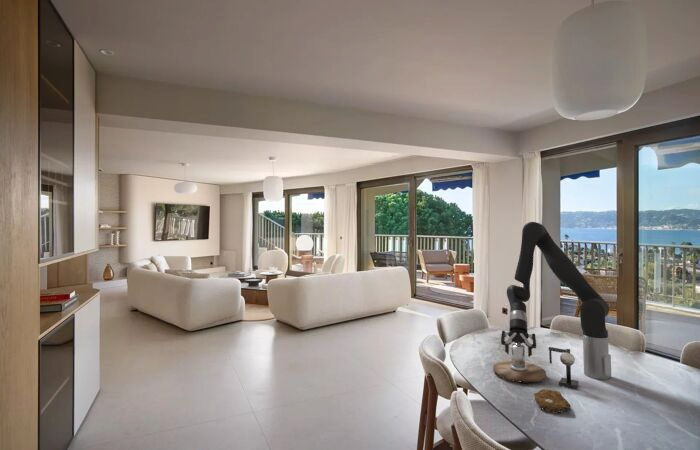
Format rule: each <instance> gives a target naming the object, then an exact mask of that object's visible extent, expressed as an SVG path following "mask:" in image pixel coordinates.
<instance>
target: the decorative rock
mask: <svg viewBox="0 0 700 450" xmlns="http://www.w3.org/2000/svg"><path fill="white" fill-rule="evenodd" d="M533 395H534V401H535V402H536V404H537V405H538V406H539V409H540V408H541V409H540V410H543V409H544V410H543V411H545V412H548V411H549V412H548V414H550V413H553V414H554V412H555V414H556V413H558V412H559V411H560V412H559V413H560V414H561V413H564V412H565V411H566V410H569V411H572V410H571V409H572V407H571V404H570V403H569V401H568V400H567V399H566V398H564V396H562V393H561V392H560V391H558V390H551V389H547V388H546V389H544V388H542V389H540V390H539V391H537V392H535V393H533ZM542 408H543V409H542ZM559 413H558V414H559Z"/></svg>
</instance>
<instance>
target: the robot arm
mask: <svg viewBox="0 0 700 450" xmlns="http://www.w3.org/2000/svg"><path fill="white" fill-rule="evenodd" d="M536 246H537V248H538V249H539V250H540V251H541V253H542V254H543V257H544V259H545V261H546V263H547V265H548V267H549V269H550V270H551V271H552V273H553V274H554V275H555V277H556V278H557V279H558V280H559V282H561V283H562V284H563V285H565V286H566V287H567V288H569V290H571V292H573V293H574V294H575V295H576V296H577V298H578V299H579V300H580V302H581V304H580V307H579V317H580V327H581V330H582V349H583V352H582V353H583V355H582V356H583V374H584V376H587V377H590V378H592V379H595V380H603V381H607V380H608V379H610V378H612V355H611V354H610V351H609V331H608V329H607V328H606V317H607V316H609V314H610V313H609V312H610V306H609V305H608V302H607V301H605V299H604V298H603V297H602V296H601V295H600V294H599V293H598V292H597V291H596V290H595V289H594V288H593V287H592V285H590V284H589V283H588V280H587V279H586V278H585V277H584V275H583V274H582V273H581V272H580V270H579V269H578V268H577V266H576V265H575V264H574V263H573V261H572V260H571V259H570V258H569V256H568V255H567V254H566V253H565V252H564V251H563V250H562V249H561V248H560V247H559V246H558V245H557V243H556V242H555V241H554V239H553V238H552V236H551V235H550V234H549V232H548V230H547V228H546V227H545V226H544V225H543V224H542V223H540V222H537V221H529V222H527V223H525V224H524V225H523V226H522V231H521V243H520V253H519V256H518V262H517V265H516V269H515V273H514V280H515V281H517V282H519V283H521V284H522V285H523V286H520V285H515V284H510V285H509V286H508V287H507V289H506V297H507V300H508V302H509V309H510V310H509V311H510V312H509V329H508V331H505V330H502V331H501V338H500V345H502V346H504V349H505V350H504V351H505V353H506V354H507V355H509V353H510V352H509V351H510V350H509V349H510V347H509V346H510V345H513V343H514V344H515V343H520V344H524V346H526V347H527V350H528V351H527V353H528V356H527V357H529V358H530V357H531V356H532V355H533V353H532V352H533V349H537V339H536V334H535V333H532V334H529V333H528V316H527V305H526V302H528V301H530V298H531V289H530V288H531V287H530V286H531V285H530V284H531V283H530V282H531V277H532V273H533V268H534V258H535V257H534V254H535V249H536ZM507 337H508V339H507V340H506V339H505V338H507ZM529 339H530V340H531V341H532V344H531V343H530V341H529ZM505 340H506V341H505Z"/></svg>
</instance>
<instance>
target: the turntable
mask: <svg viewBox="0 0 700 450" xmlns="http://www.w3.org/2000/svg"><path fill="white" fill-rule="evenodd" d="M510 364H512V360H501V361H497V362H495V363H494V364H493V366H492V367H493V372H494V373H495V375H498V376H499V377H501V378H503V377H504V378H503V379H505V378H506V379H505V380H508V379H510V380H509V381H511V380H514V381H513V382H515V381H521V382H520V383H522V382H533V383H538V382H542V381H544V380H545V379H546V378H547V372H546V370H545V369H544V368H543V367H541V366H539V365H536V364H533V363H529V362H526V361H525V365H526V366H527V371H525V372H519V371H514V370H512V369H511V368H510Z"/></svg>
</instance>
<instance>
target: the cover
mask: <svg viewBox="0 0 700 450" xmlns="http://www.w3.org/2000/svg"><path fill="white" fill-rule="evenodd" d="M525 346H526V345H523V344H522V343H515V342H514V344H513V343H512V344H511V361H512V364H510V368H511V369H512V370H514V371H519V372H525V371H527V366H526V365H525V362H526V353H525V352H526V351H525V350H526V347H525Z"/></svg>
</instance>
